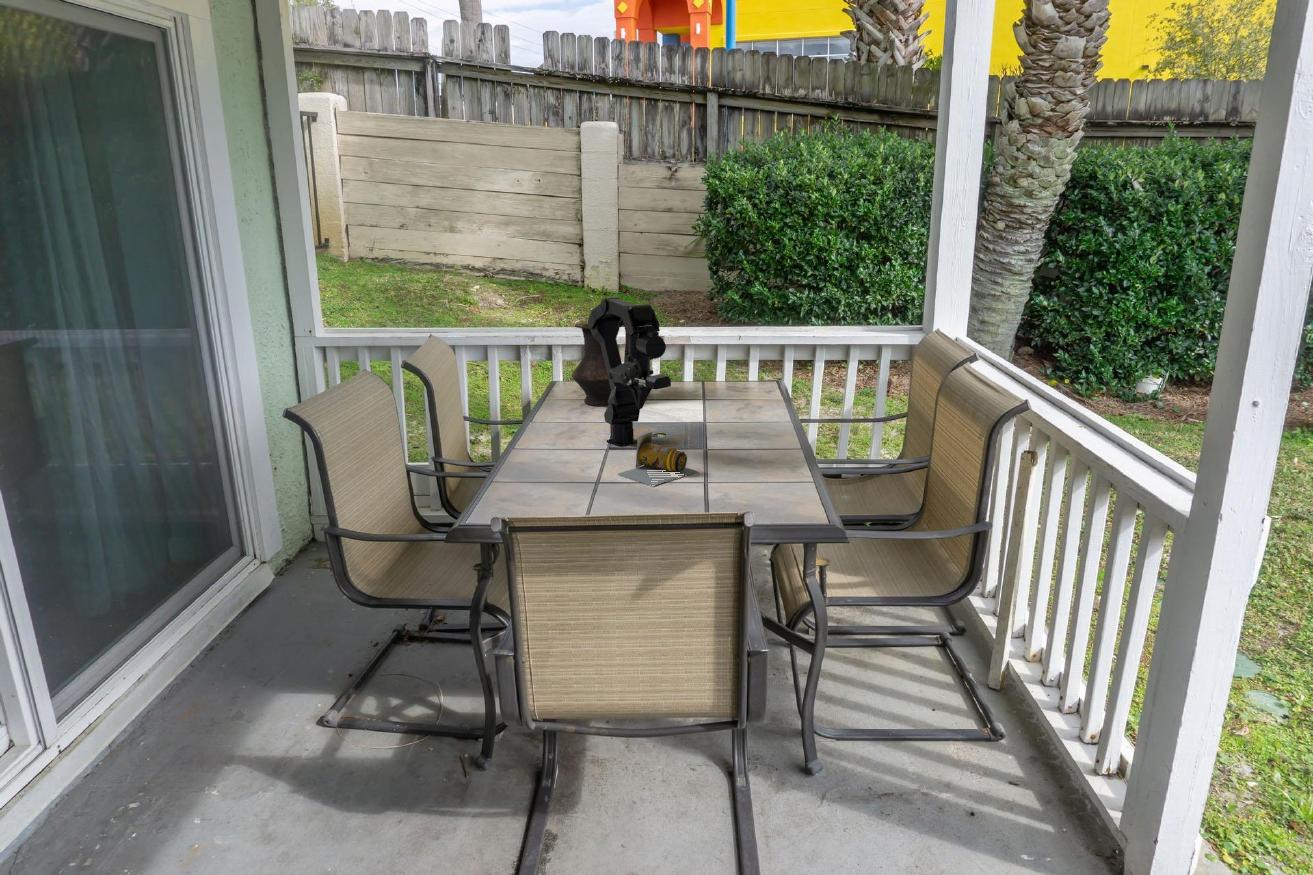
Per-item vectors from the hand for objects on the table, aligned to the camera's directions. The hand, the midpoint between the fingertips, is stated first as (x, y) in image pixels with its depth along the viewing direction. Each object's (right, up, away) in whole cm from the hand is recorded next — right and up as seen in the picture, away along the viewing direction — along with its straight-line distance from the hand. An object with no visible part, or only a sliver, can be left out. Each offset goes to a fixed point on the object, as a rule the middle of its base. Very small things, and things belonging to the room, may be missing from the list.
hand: (639, 408), depth 242 cm
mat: (+5, -17, -12) cm, 21 cm away
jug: (-13, +4, +58) cm, 60 cm away
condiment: (+1, -11, -7) cm, 13 cm away
